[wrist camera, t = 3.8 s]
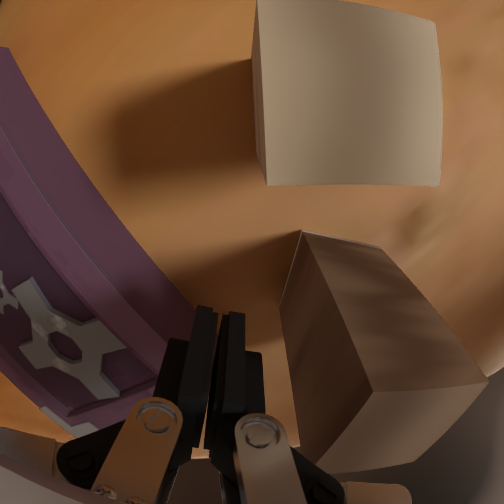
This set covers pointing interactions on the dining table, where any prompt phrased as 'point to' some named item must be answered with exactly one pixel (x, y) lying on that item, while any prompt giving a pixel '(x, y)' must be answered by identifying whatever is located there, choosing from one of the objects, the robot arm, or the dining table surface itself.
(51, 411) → the book
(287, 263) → the dining table surface
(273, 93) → the oak block
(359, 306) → the wooden block
